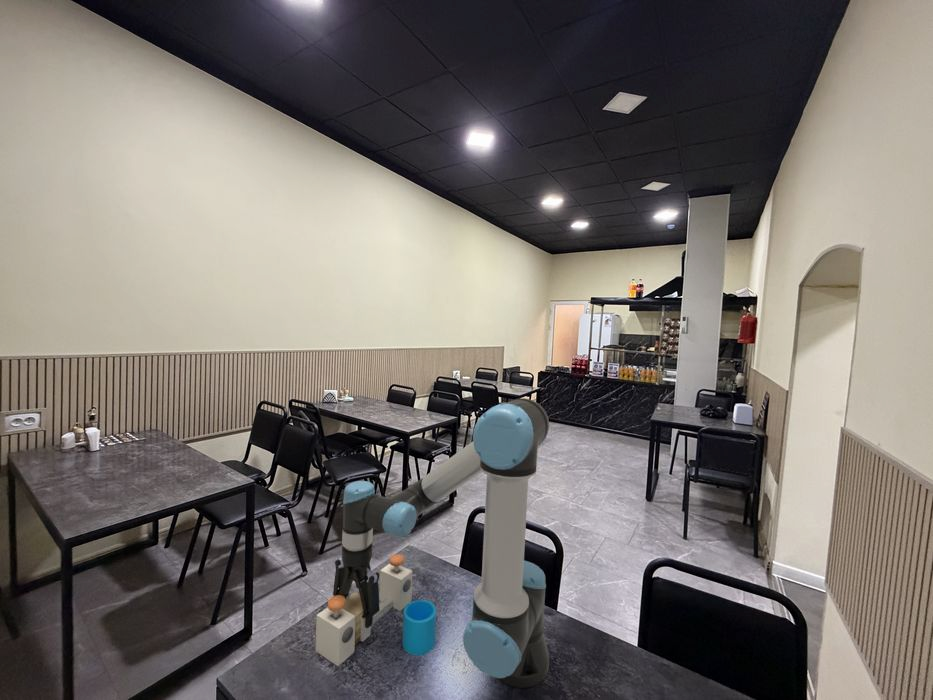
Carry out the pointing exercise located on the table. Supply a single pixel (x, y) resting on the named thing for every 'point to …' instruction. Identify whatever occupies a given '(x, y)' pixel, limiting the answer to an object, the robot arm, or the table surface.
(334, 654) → the cabinet
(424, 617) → the mug
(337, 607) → the plunger
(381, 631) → the table surface
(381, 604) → the rail
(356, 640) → the block
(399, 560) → the plunger
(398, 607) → the cabinet
